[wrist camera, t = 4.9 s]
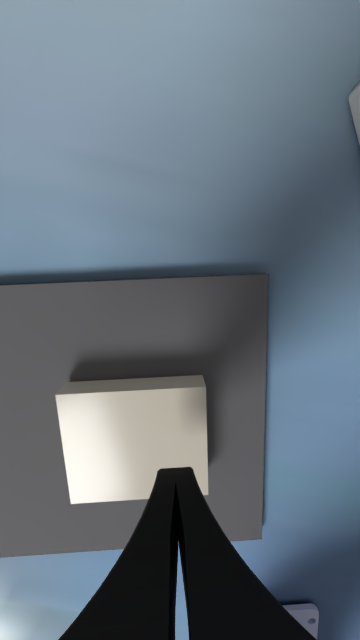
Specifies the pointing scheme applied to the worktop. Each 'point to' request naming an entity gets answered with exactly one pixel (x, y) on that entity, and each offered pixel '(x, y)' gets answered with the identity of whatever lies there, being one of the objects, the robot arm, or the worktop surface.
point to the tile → (131, 434)
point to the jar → (355, 108)
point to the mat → (127, 363)
